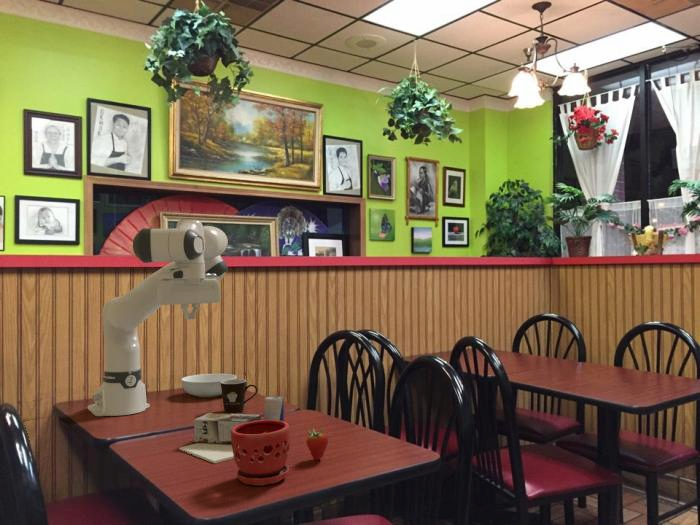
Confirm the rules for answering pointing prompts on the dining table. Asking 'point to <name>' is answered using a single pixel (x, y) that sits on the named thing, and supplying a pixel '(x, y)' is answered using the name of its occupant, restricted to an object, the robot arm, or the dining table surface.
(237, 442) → the plant pot
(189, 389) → the serving bowl
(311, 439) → the fruit
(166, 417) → the dining table surface
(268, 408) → the energy drink
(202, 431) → the coffee box
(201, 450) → the mat
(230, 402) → the coffee mug
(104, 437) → the dining table surface
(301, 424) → the dining table surface
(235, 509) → the dining table surface
